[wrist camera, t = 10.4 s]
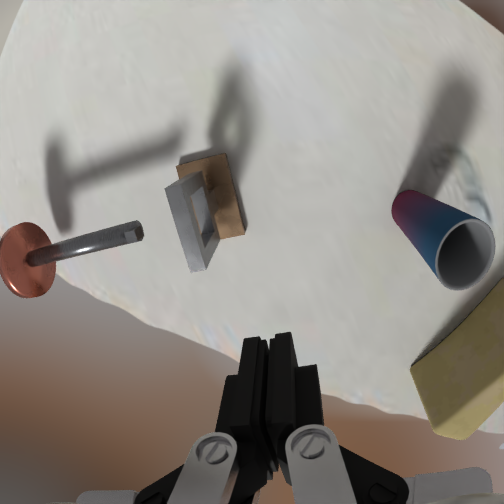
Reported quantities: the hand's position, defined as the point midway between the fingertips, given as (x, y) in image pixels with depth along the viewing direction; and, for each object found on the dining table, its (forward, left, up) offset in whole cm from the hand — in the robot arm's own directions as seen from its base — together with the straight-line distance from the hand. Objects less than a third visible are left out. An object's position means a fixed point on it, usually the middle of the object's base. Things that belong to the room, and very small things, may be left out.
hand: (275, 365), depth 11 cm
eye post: (-1, -8, -29) cm, 30 cm away
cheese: (+27, +27, -29) cm, 48 cm away
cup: (+5, +16, -29) cm, 34 cm away
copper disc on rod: (-1, -25, -26) cm, 36 cm away
